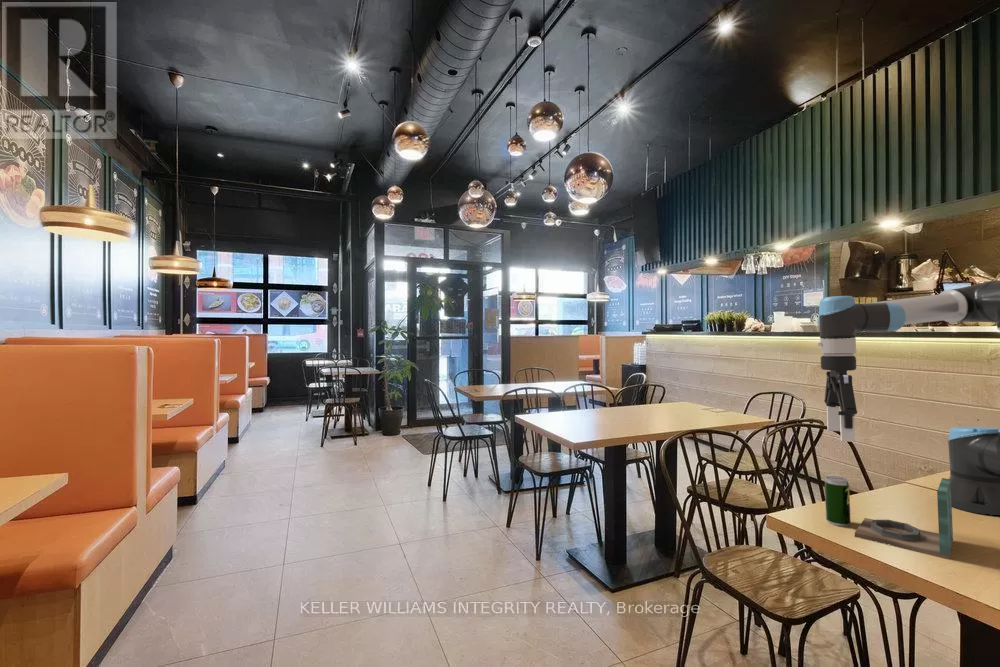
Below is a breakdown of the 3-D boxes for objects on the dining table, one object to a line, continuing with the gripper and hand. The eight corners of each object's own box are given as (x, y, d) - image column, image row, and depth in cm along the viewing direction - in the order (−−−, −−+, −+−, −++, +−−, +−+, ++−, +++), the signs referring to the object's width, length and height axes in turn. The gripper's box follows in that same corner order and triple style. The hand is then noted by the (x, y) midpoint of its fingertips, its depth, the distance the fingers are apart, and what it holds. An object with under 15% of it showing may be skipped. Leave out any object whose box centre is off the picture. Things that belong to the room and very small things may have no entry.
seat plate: (865, 521, 124) (862, 466, 124) (953, 540, 111) (950, 479, 111) (854, 536, 115) (852, 477, 115) (949, 559, 102) (946, 492, 103)
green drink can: (827, 524, 122) (825, 480, 122) (824, 517, 127) (823, 474, 127) (852, 528, 120) (850, 482, 120) (848, 521, 124) (847, 477, 125)
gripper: (810, 353, 133) (813, 426, 133) (832, 357, 110) (835, 445, 110) (842, 353, 130) (844, 427, 130) (871, 357, 107) (874, 447, 107)
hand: (840, 435), depth 120 cm, fingers open, 13 cm apart
